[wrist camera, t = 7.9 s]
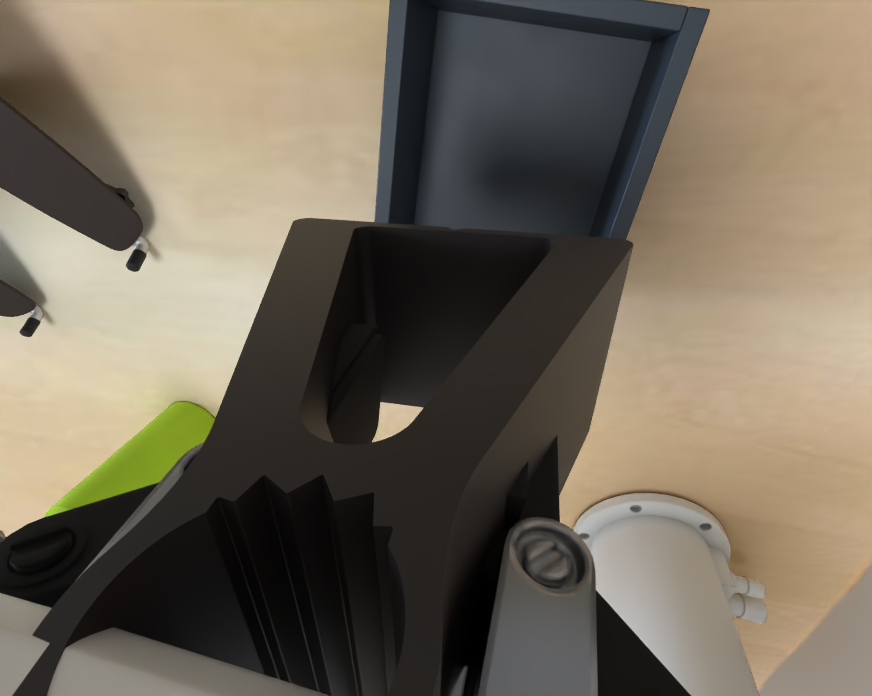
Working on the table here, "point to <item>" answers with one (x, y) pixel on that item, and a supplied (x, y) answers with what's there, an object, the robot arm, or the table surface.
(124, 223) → the laptop tray
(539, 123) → the tote
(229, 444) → the phone stand
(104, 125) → the table surface
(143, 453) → the soap dispenser
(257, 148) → the table surface
